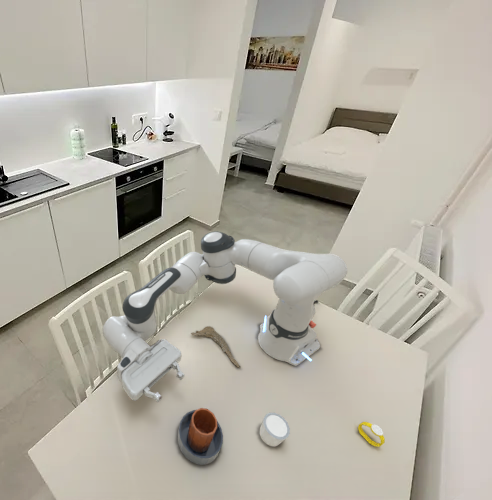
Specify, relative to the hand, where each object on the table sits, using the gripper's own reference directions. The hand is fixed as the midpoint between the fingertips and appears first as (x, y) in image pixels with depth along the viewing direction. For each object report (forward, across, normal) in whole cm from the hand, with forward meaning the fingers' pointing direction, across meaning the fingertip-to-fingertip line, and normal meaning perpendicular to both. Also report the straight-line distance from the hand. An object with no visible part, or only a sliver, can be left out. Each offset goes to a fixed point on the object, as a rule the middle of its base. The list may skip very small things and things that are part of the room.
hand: (171, 388), depth 80 cm
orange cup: (+12, 0, -12) cm, 17 cm away
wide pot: (+12, 0, -12) cm, 17 cm away
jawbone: (-3, -28, -13) cm, 30 cm away
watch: (+44, -37, -13) cm, 58 cm away
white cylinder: (+25, -16, -13) cm, 32 cm away
